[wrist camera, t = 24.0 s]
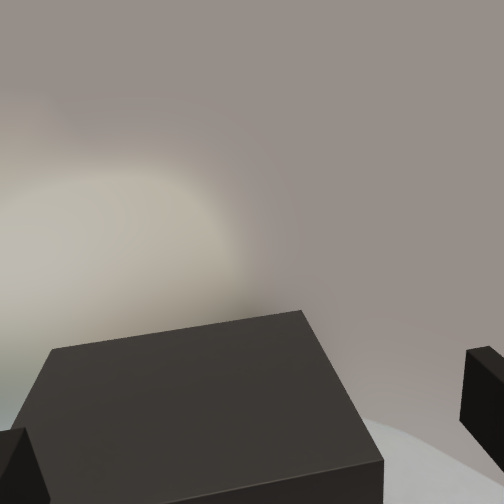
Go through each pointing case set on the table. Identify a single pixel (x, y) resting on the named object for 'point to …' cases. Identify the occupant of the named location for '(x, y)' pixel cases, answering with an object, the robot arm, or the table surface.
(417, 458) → the table surface
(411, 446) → the table surface
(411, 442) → the table surface
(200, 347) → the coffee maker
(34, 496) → the robot arm
